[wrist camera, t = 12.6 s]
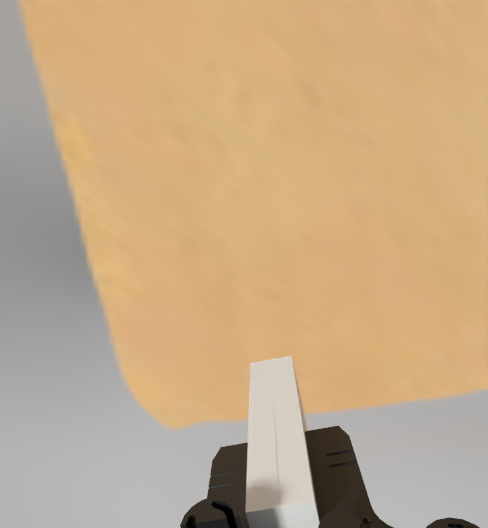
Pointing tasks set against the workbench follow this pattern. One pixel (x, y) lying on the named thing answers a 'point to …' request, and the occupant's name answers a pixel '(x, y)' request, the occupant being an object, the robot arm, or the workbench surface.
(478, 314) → the workbench surface
